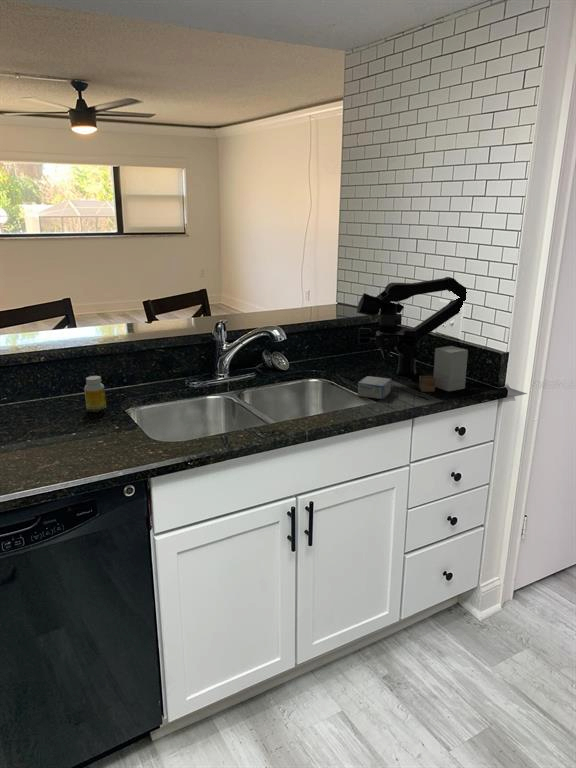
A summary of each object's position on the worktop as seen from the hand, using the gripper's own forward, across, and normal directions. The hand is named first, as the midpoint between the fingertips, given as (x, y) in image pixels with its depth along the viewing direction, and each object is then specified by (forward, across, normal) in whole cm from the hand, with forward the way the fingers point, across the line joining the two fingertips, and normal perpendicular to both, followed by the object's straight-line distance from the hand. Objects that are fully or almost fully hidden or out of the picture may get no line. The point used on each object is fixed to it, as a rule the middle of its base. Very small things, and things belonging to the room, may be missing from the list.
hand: (385, 358), depth 181 cm
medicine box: (+9, -1, 0) cm, 9 cm away
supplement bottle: (+35, -80, -21) cm, 90 cm away
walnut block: (+8, +13, +3) cm, 16 cm away
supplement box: (+6, +20, +6) cm, 22 cm away
